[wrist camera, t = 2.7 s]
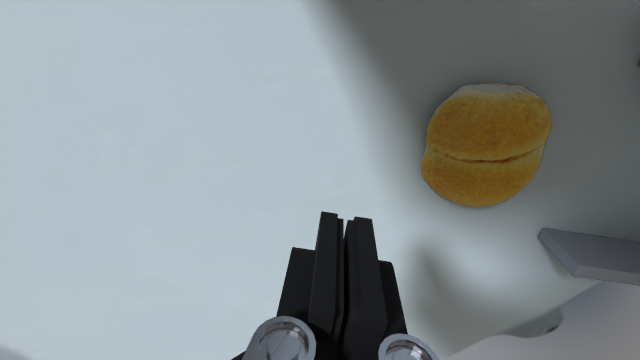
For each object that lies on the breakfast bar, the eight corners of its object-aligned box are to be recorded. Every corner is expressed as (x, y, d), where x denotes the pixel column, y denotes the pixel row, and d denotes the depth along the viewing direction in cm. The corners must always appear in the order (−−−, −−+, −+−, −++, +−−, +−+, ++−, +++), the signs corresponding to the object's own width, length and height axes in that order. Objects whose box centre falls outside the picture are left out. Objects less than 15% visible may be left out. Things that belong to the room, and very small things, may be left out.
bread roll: (413, 193, 25) (425, 221, 22) (429, 81, 21) (447, 93, 18) (516, 195, 25) (545, 224, 21) (553, 81, 21) (597, 93, 17)
